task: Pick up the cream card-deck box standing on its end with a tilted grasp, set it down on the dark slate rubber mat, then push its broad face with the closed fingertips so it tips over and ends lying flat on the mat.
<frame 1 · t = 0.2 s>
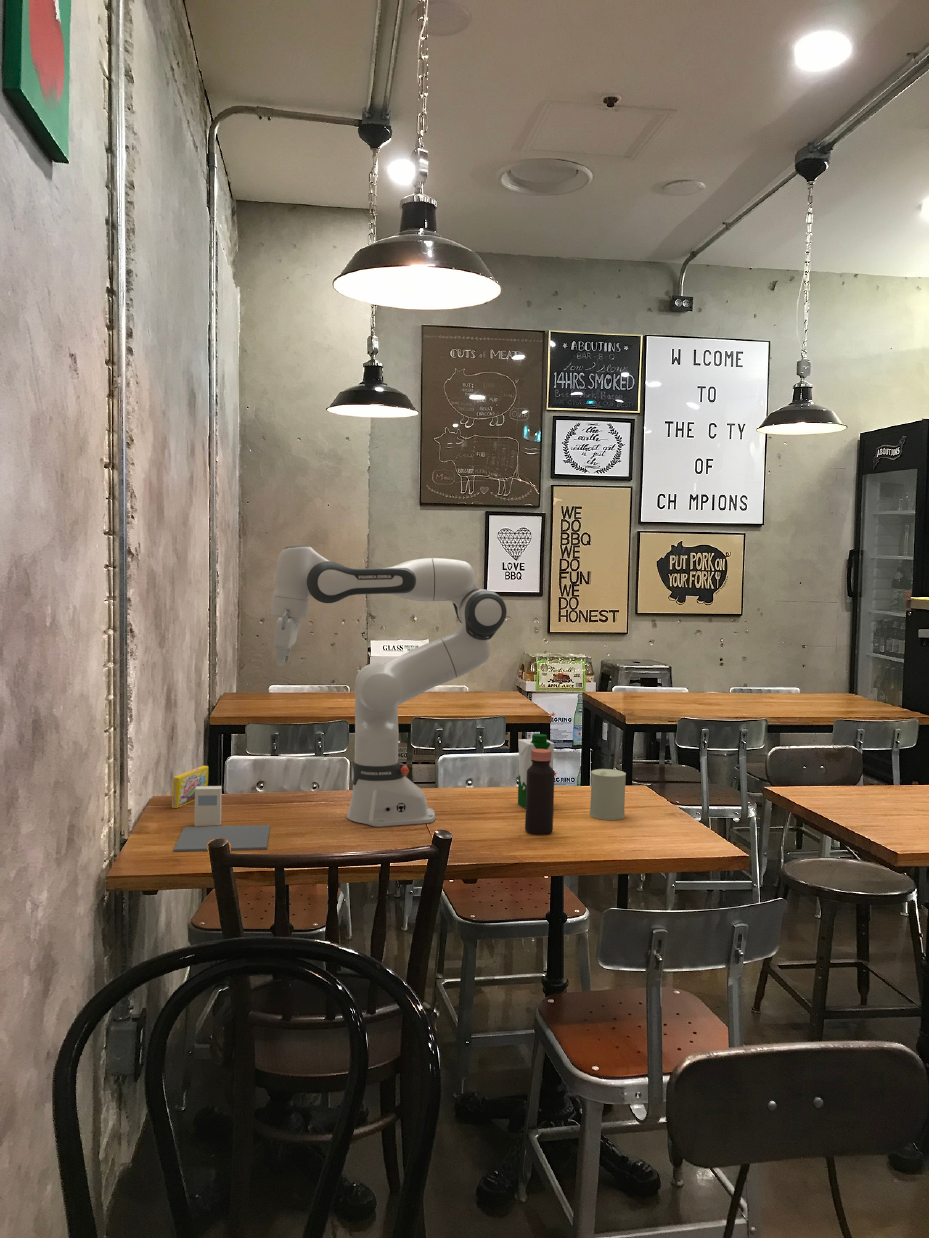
hand: (282, 664, 223), 39 cm above the table, tool pointing down, fingers open, 8 cm apart
bottle: (538, 832, 220), on the table
milk carton: (534, 807, 244), on the table
can: (607, 816, 236), on the table
candy box: (190, 802, 240), on the table
mat: (224, 838, 207), on the table
card deck: (207, 824, 219), on the table
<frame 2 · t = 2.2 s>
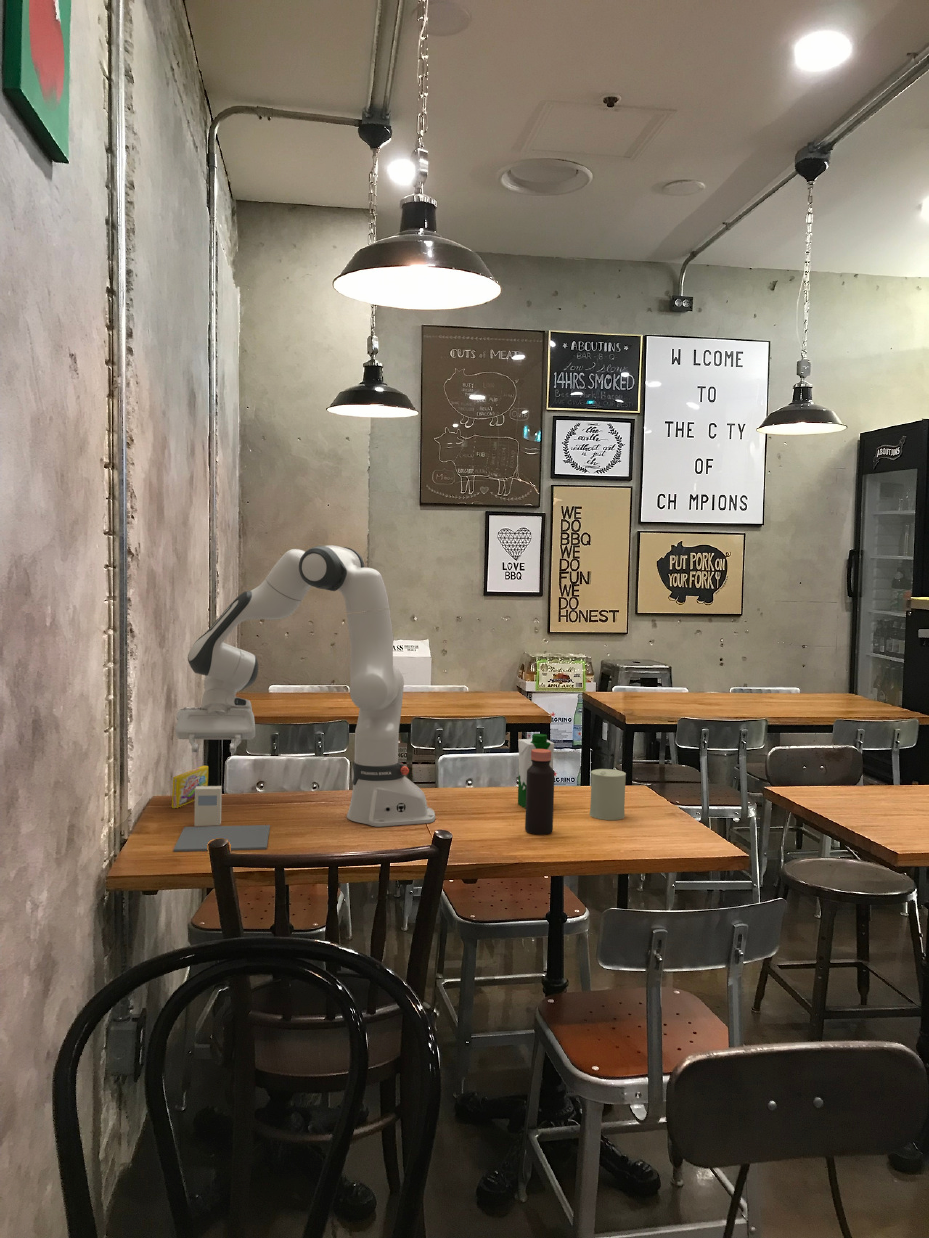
hand: (213, 751, 230), 16 cm above the table, tool tilted 45°, fingers open, 8 cm apart
nothing on the table moved.
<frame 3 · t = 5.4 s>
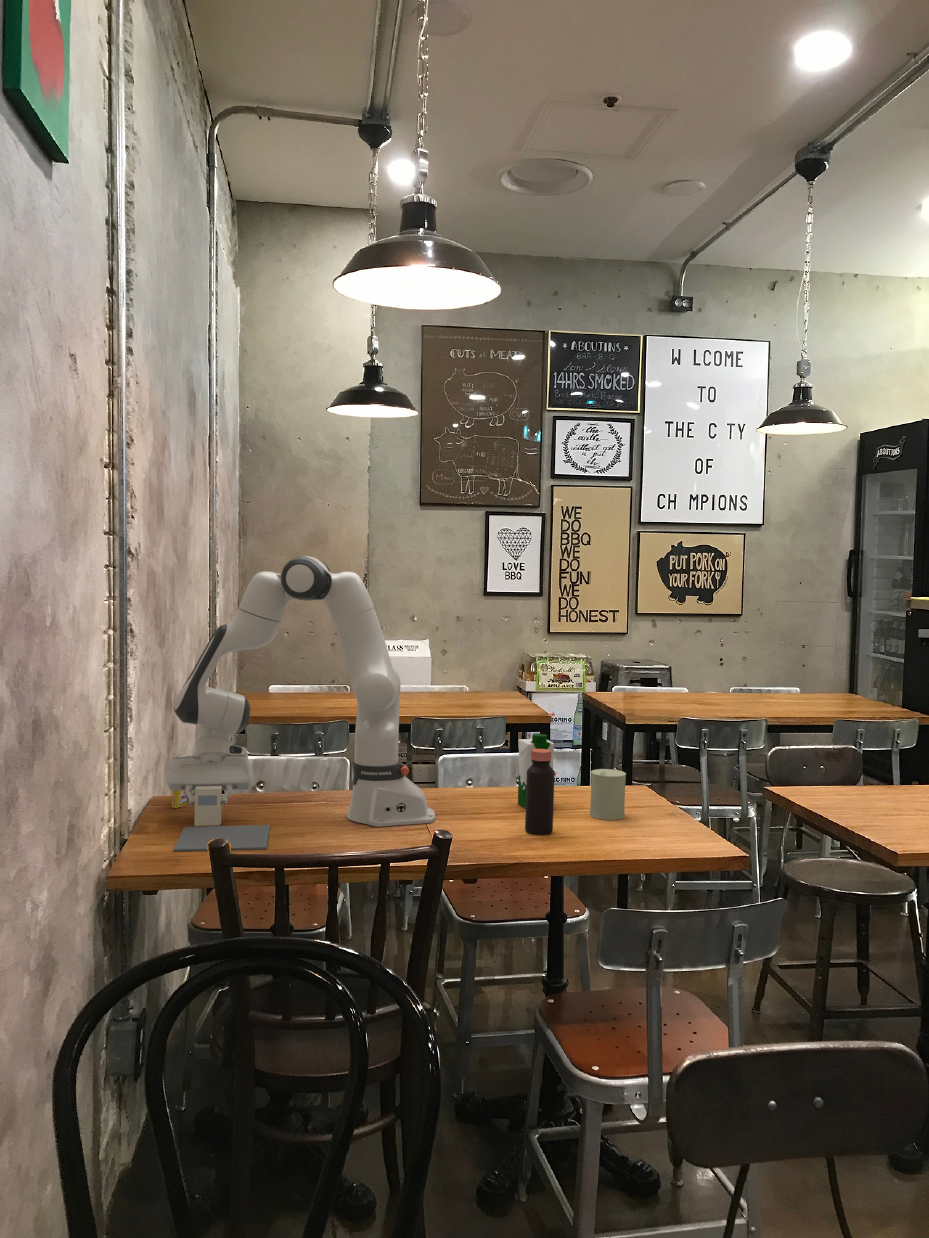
hand: (207, 803, 218), 5 cm above the table, tool tilted 45°, fingers closed on card deck, 6 cm apart
card deck: (207, 823, 219), on the table, touching gripper
everything else where it was.
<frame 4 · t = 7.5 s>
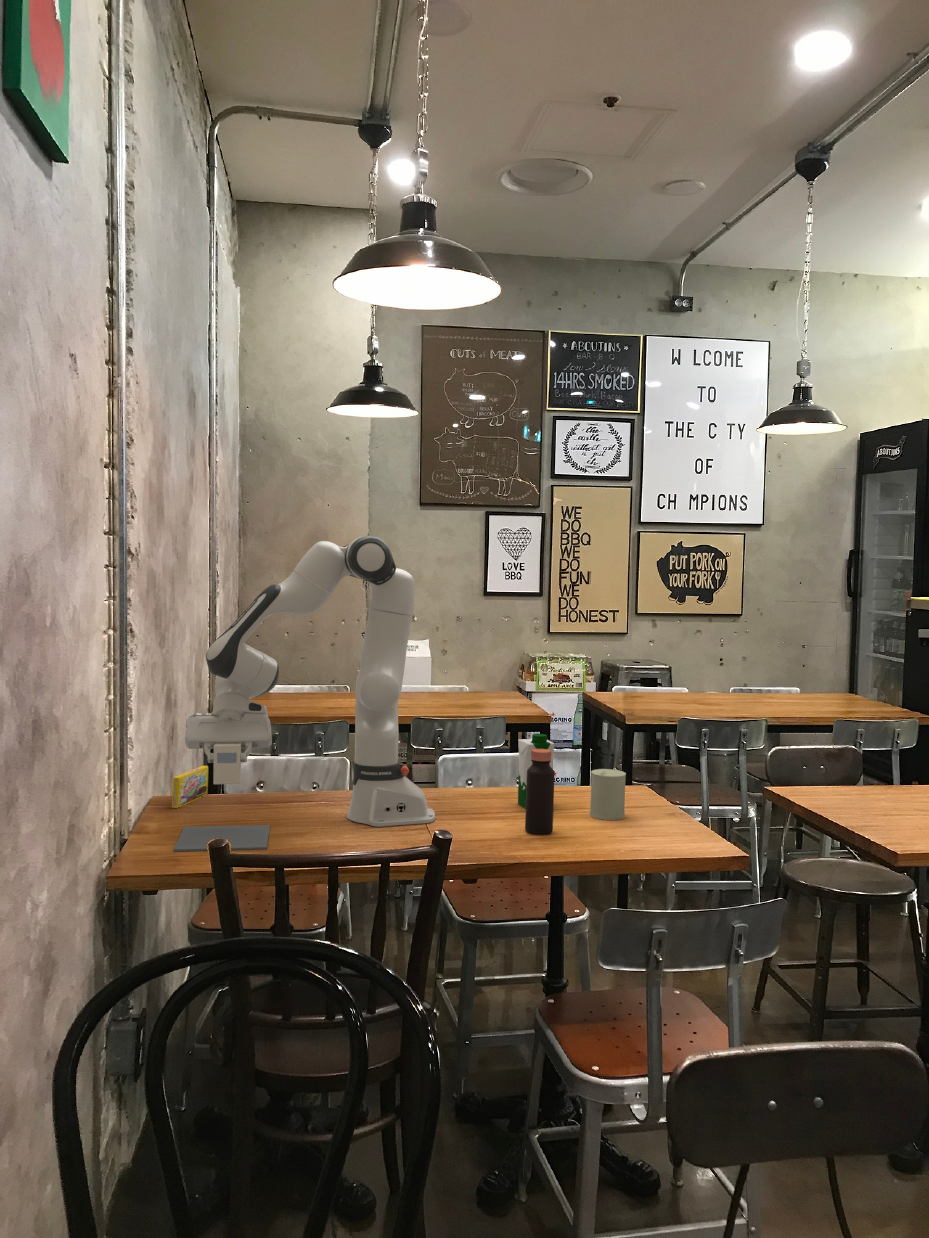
hand: (227, 761, 211), 17 cm above the table, tool tilted 45°, fingers closed on card deck, 6 cm apart
card deck: (227, 782, 211), point 12 cm above the table, touching gripper
everything else where it was.
when the fingers open (6 cm above the table, at t = 10.1 s): card deck stays where it is, resting on mat.
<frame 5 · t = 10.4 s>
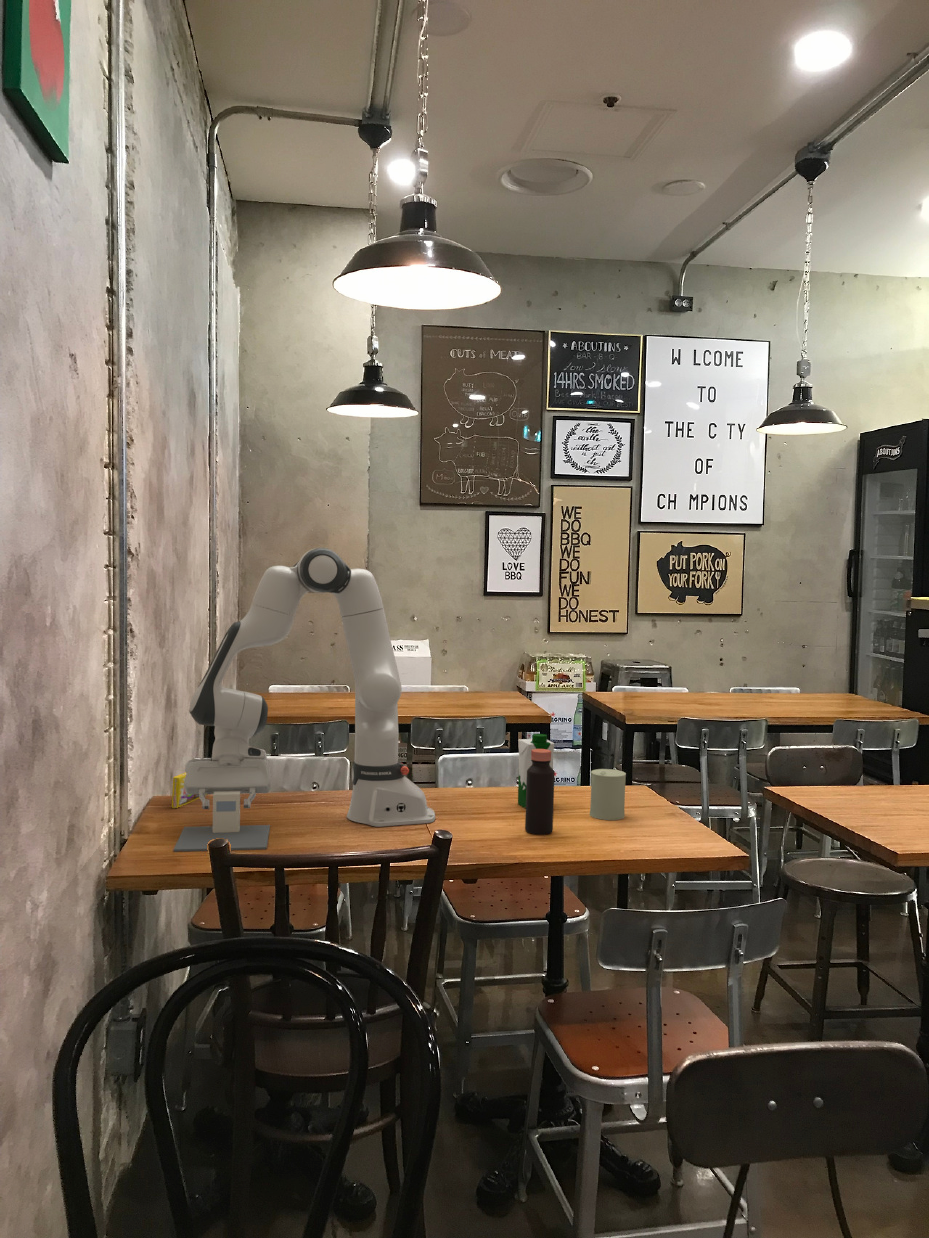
hand: (226, 807, 211), 6 cm above the table, tool tilted 45°, fingers open, 8 cm apart
card deck: (226, 830, 212), resting on mat
everything else where it was.
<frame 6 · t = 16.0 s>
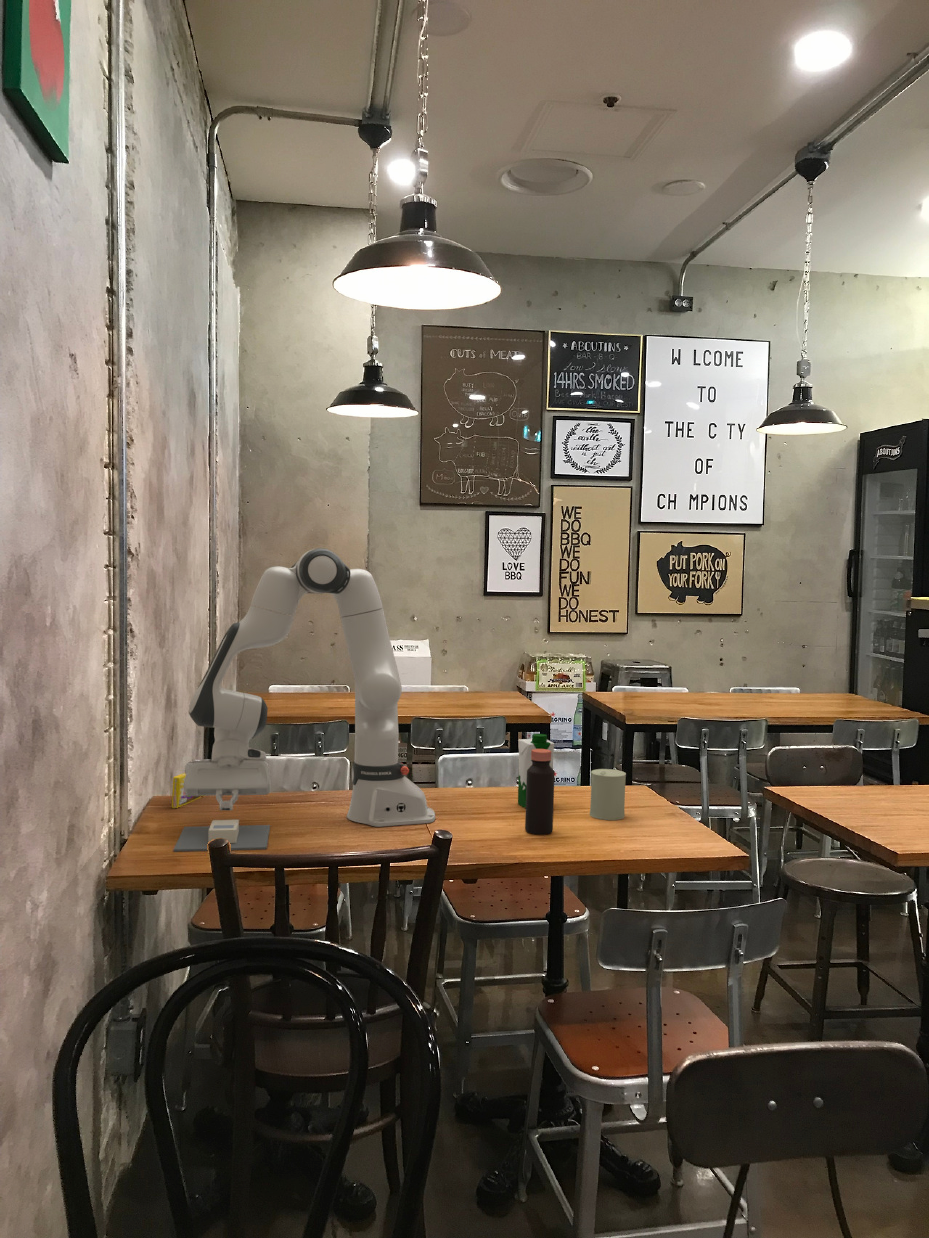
hand: (225, 809, 210), 6 cm above the table, tool tilted 45°, fingers closed
card deck: (225, 826, 210), point 2 cm above the table, tilted 89°, touching mat
everything else where it was.
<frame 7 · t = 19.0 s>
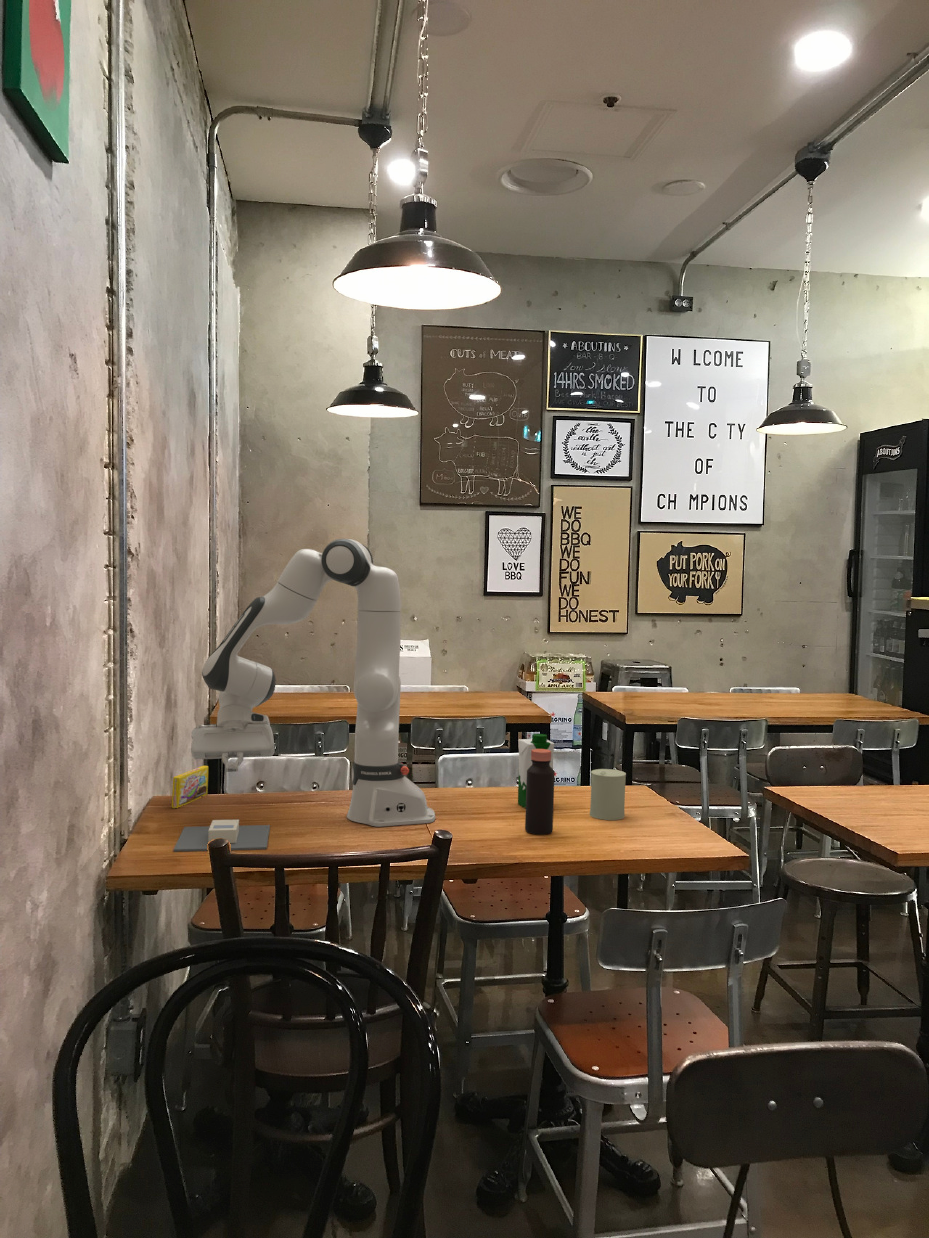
hand: (231, 770, 219), 13 cm above the table, tool tilted 45°, fingers closed
nothing on the table moved.
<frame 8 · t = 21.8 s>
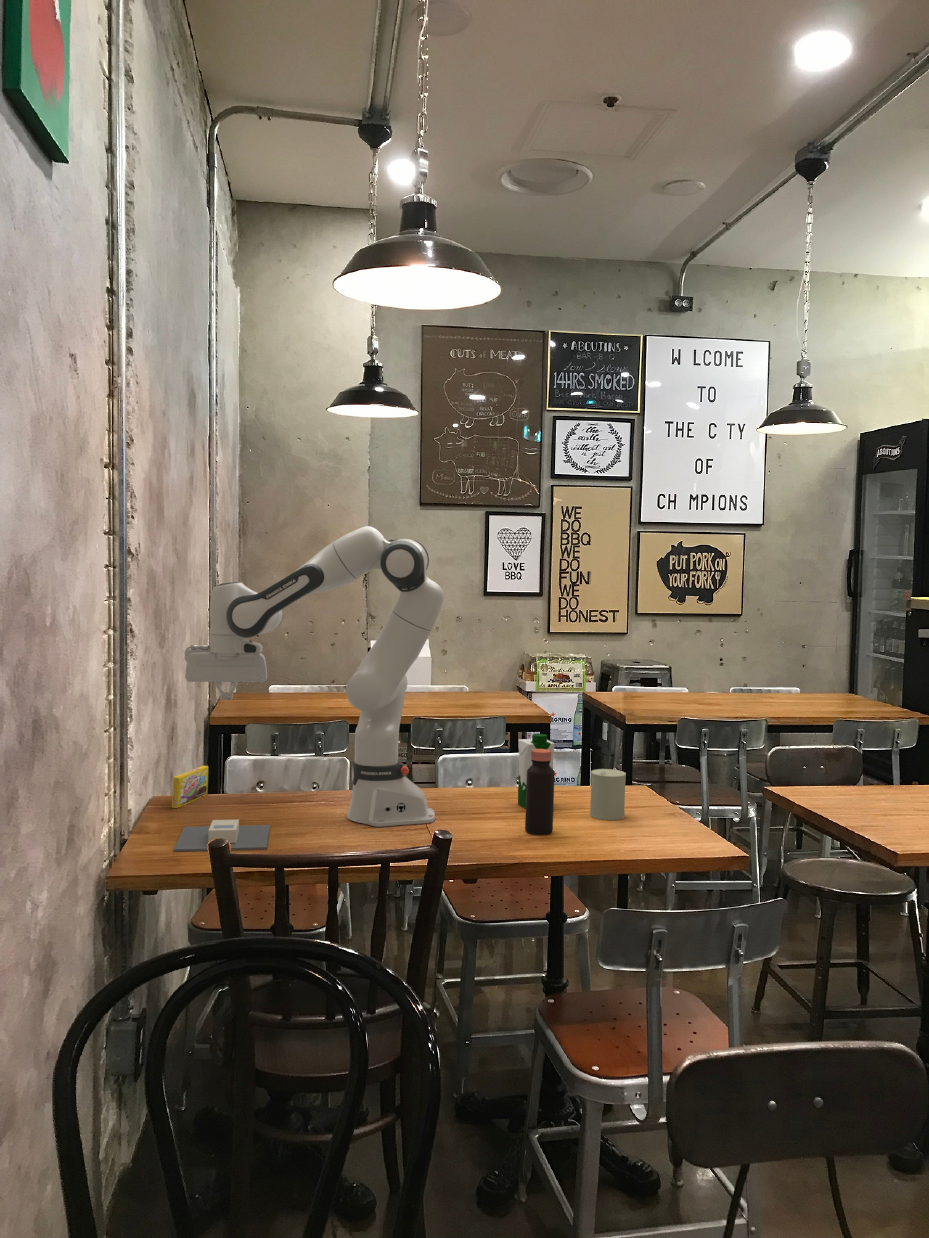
hand: (226, 699, 229), 29 cm above the table, tool pointing down, fingers closed
nothing on the table moved.
at the end: card deck tilted 89°; card deck 3.4 cm from the mat (horizontally); the gripper is holding nothing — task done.
